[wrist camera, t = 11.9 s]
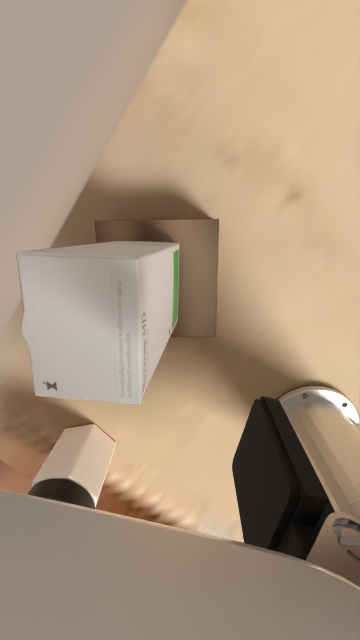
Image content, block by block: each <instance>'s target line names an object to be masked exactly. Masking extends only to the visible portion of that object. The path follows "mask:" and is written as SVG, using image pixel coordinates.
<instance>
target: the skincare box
mask: <svg viewBox="0 0 360 640" xmlns="http://www.w3.org/2000/svg"><path fill="white" fill-rule="evenodd" d="M16 257H17V262H18V271H19V279H20V287H21V295H22V303H23V311H24V315H23V318H22V324H21V327H22V334H23V337H24V340H25V342H26V344H27V345H28V347H29V353H30V360H31V367H32V374H33V383H34V392H35V395H36V396H40V397H55V398H68V399H82V400H94V401H104V402H114V403H125V404H138V405H139V404H140V403H141V400H142V398H143V396H144V393H145V391H146V389H147V386H148V384H149V382H150V380H151V378H152V376H153V373H154V371H155V369H156V367H157V365H158V362H159V360H160V358H161V356H162V353H163V351H164V349H165V347H166V345H167V343H168V340H169V338H170V336H171V334H172V332H173V329H174V327H175V325H176V323H177V321H178V287H179V243H171V242H144V241H114V242H104V243H96V244H87V245H77V246H69V247H60V248H51V249H42V250H32V251H21V252H17V253H16Z"/></svg>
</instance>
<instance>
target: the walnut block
mask: <svg viewBox="0 0 360 640" xmlns="http://www.w3.org/2000/svg"><path fill="white" fill-rule="evenodd" d="M95 230H96V241H97V243H104V242H114V241H144V242H171V243H179V287H178V321H177V323H176V325H175V327H174V329H173V332H172V334H171V336H170V337H216V306H217V270H218V235H219V219H195V220H114V221H95Z"/></svg>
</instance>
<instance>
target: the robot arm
mask: <svg viewBox="0 0 360 640" xmlns="http://www.w3.org/2000/svg"><path fill="white" fill-rule="evenodd" d="M232 470H233V477H234V483H235V489H236V495H237V501H238V507H239V513H240V519H241V525H242V531H243V538H244V543H242V542H238V541H234V540H229V539H225V538H220V537H216V536H212V535H208V534H204V533H199V532H195V531H191V530H186V529H182V528H177V527H173V526H168V525H164V524H159V523H155V522H150V521H146V520H141V519H137V518H132V517H128V516H123V515H119V514H115V513H110V512H106V511H101V510H96V509H92V508H87V507H83V506H78V505H74V504H69V503H64V502H60V501H55V500H51V499H46V498H41V497H37V496H32V495H27V494H23V493H18V492H13V491H8V490H4V489H0V640H360V427H359V419H358V414H357V411H356V409H355V407H354V406H353V405H352V403H351V402H350V401H349V400H348V399H347V398H346V397H345V396H344V395H343V394H341V393H340V392H338V391H336V390H334V389H332V388H328V387H324V386H306V387H301V388H298V389H295V390H292V391H290V392H288V393H286V394H285V395H283V396H282V397H280V398H279V399H278V400H277V399H272V398H268V397H264V396H262V397H261V398H260V400H258V399H256V400H255V401H254V403H253V406H252V408H251V411H250V414H249V417H248V420H247V422H246V425H245V428H244V431H243V434H242V436H241V439H240V442H239V445H238V447H237V450H236V453H235V456H234V459H233V464H232Z"/></svg>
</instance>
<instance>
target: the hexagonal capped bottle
mask: <svg viewBox="0 0 360 640" xmlns="http://www.w3.org/2000/svg"><path fill="white" fill-rule="evenodd" d="M115 447H116V442H114V441H113V440H112V439H111V438H110V437H109V436H108V435H106V434H105V433H104V432H103V431H102V430H101V429H100V428H98V427H97V426H96V425H95V424H90V425H84V426H78V427H72V428H66V429H64V431H63V433H62V434H61V436H60V438H59V439H58V441H57V442H56V444H55V446H54V447H53V449H52V451H51V452H50V454H49V455H48V457H47V459H46V460H45V462H44V464H43V465H42V467H41V468H40V470H39V472H38V473H37V475H36V477H35V478H34V480H33V483H32V488H31V490H30V491H29V493H28V494H27V495H32V496H37V497H41V498H46V499H51V500H55V501H60V502H64V503H69V504H74V505H78V506H83V507H87V508H92V509H95V508H96V505H97V502H98V499H99V496H100V493H101V490H102V487H103V484H104V481H105V478H106V475H107V472H108V469H109V466H110V463H111V460H112V456H113V453H114V450H115Z"/></svg>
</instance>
